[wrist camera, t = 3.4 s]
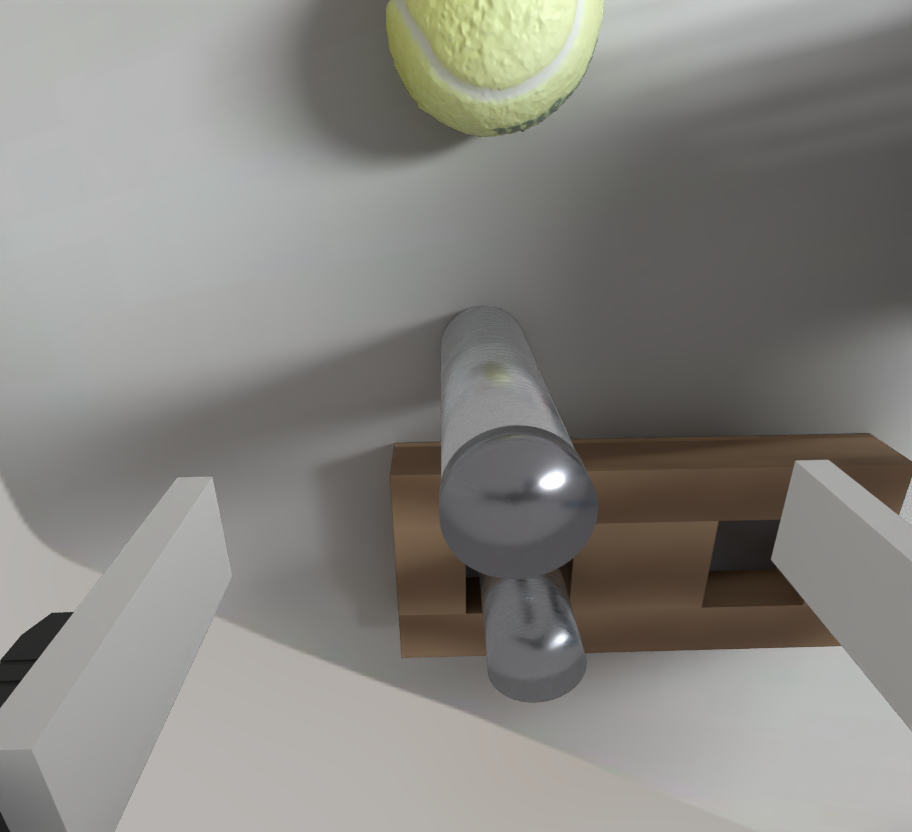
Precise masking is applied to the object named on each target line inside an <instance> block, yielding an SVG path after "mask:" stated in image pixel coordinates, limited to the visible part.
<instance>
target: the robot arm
mask: <svg viewBox="0 0 912 832" xmlns="http://www.w3.org/2000/svg"><path fill="white" fill-rule="evenodd" d="M771 560H772V561H773V563H774V564H775V565H776V566H777V568H778V569H779V570H780V571H781V572H782V574H783V575H784V576H785V577H786V579H787V580H788V581H789V582H790V583H791V585H792V586H793V587H794V588H795V590H796V591H797V592H798V593H799V594H800V596H801V597H802V598H803V599H804V601H805V602H806V603H807V604H808V605H809V607H810V608H811V609H812V610H813V612H814V613H815V614H816V615H817V616H818V618H819V619H820V620H821V621H822V623H823V624H824V625H825V626H826V627H827V629H828V630H829V631H830V632H831V634H832V635H833V636H834V637H835V638H836V640H837V641H838V642H839V643H840V644H841V646H842V647H843V648H844V649H845V651H846V652H847V653H848V654H849V655H850V657H851V658H852V659H853V660H854V662H855V663H856V664H857V665H858V666H859V668H860V669H861V670H862V671H863V673H864V674H865V675H866V676H867V677H868V679H869V680H870V681H871V682H872V684H873V685H874V686H875V687H876V688H877V690H878V691H879V692H880V693H881V695H882V696H883V697H884V698H885V699H886V701H887V702H888V703H889V704H890V706H891V707H892V708H893V709H894V710H895V712H896V713H897V714H898V715H899V717H900V718H901V719H902V720H903V721H904V723H905V724H906V725H907V726H908V728H909V729H910V730H911V731H912V526H911V525H910V524H909V523H908V522H906V521H905V520H904V519H902V518H901V517H900V516H899V515H897V514H896V513H895V512H894V511H892V510H891V509H890V508H889V507H887V506H886V505H885V504H884V503H882V502H881V501H880V500H879V499H877V498H876V497H875V496H873V495H872V494H871V493H870V492H868V491H867V490H866V489H865V488H863V487H862V486H861V485H860V484H858V483H857V482H856V481H855V480H853V479H852V478H851V477H850V476H848V475H847V474H846V473H844V472H843V471H842V470H841V469H839V468H838V467H837V466H836V465H834V464H833V463H832V462H831V461H829V460H798V461H795V464H794V468H793V472H792V476H791V480H790V484H789V488H788V492H787V496H786V500H785V504H784V508H783V512H782V516H781V521H780V525H779V529H778V533H777V537H776V541H775V545H774V549H773V553H772V557H771ZM231 579H232V572H231V567H230V562H229V557H228V552H227V547H226V542H225V537H224V532H223V527H222V522H221V517H220V512H219V507H218V502H217V497H216V492H215V488H214V483H213V478H212V477H177V479H176V480H175V481H174V482H173V484H172V485H171V486H170V488H169V489H168V490H167V492H166V493H165V494H164V495H163V497H162V498H161V499H160V501H159V502H158V503H157V505H156V506H155V507H154V508H153V510H152V511H151V512H150V514H149V515H148V516H147V518H146V519H145V520H144V522H143V523H142V524H141V525H140V527H139V528H138V529H137V531H136V532H135V533H134V535H133V536H132V537H131V538H130V540H129V541H128V542H127V544H126V545H125V546H124V548H123V549H122V550H121V552H120V553H119V554H118V555H117V557H116V558H115V559H114V561H113V562H112V563H111V565H110V566H109V567H108V568H107V570H106V571H105V572H104V574H103V575H102V576H101V578H100V579H99V580H98V582H97V583H96V584H95V585H94V587H93V588H92V589H91V591H90V592H89V593H88V595H87V596H86V597H85V598H84V600H83V601H82V602H81V604H80V605H79V606H78V608H77V609H76V610H75V611H74V612H63V613H51V614H50V615H48V616H47V617H45V618H44V619H43V620H42V621H40V622H39V623H37V624H36V625H35V626H33V627H32V628H30V629H29V630H28V631H26V632H25V633H24V634H22V635H21V636H20V637H19V639H18V640H17V641H16V642H15V643H14V645H13V646H12V647H11V648H10V649H9V651H8V652H7V653H6V654H5V656H4V657H3V658H2V659H1V660H0V832H115V829H116V827H117V825H118V823H119V821H120V819H121V816H122V814H123V812H124V810H125V808H126V806H127V803H128V801H129V799H130V797H131V795H132V793H133V791H134V788H135V786H136V784H137V782H138V780H139V777H140V775H141V773H142V771H143V769H144V767H145V765H146V762H147V760H148V758H149V756H150V754H151V752H152V749H153V747H154V745H155V743H156V741H157V738H158V736H159V734H160V732H161V730H162V728H163V726H164V723H165V721H166V719H167V717H168V715H169V713H170V711H171V708H172V706H173V704H174V701H175V700H176V697H177V695H178V693H179V691H180V689H181V687H182V685H183V682H184V680H185V678H186V676H187V674H188V672H189V669H190V667H191V665H192V663H193V660H194V658H195V657H196V654H197V652H198V650H199V648H200V646H201V643H202V641H203V639H204V637H205V635H206V633H207V631H208V628H209V626H210V624H211V622H212V620H213V618H214V615H215V613H216V611H217V609H218V607H219V605H220V603H221V600H222V598H223V596H224V594H225V592H226V590H227V587H228V585H229V583H230V581H231Z"/></svg>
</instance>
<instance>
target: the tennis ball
mask: <svg viewBox="0 0 912 832" xmlns="http://www.w3.org/2000/svg"><path fill="white" fill-rule="evenodd" d="M603 8H604V0H390V1H389V2H388V4H387V6H386V11H385V16H386V25H385V26H386V33H387V37H388V44H389V46H388V48H389V50H390V52H391V56H392V57H393V59H394V67H395V68H396V71H397V72H398V74H399V76H400V78H401V79H402V82H403V85H404V86H405V88H407V90H408V93H409V94H410V95H411V98H412V99H413V100H415V101H416V102H417V103H418V107H419V108H420V109H422V110H424V111H425V112H426V113H429V114H430V115H431V116H432V117H434V118H435V119H436V120H438V121H440V122H441V123H443V124H444V125H446V126H449V127H451V128H454V129H455V130H457V131H461V132H463V133H466V134H467V135H471V134H474V135H477V136H478V137H490V136H491V137H492V136H498V135H504V134H512V133H516V132H518V131H522V132H524V131H525V130H526V129H529V128H530V127H532V126H535V125H538V124H539V123H540V122H542V121H543V120H544V119H545V118H546V117H547V116H549V115H550V114H552V113H553V112H555V111H557V109H558V108H559V107H560V106H561V105H562V104H563V103H564V102H565V100H566V99H567V98H568V97H569V96H570V95H571V94H572V93H573V91H574V90H575V89H576V88H577V87H578V85H579V84H580V82H581V79H582V78H583V76H584V75H585V73H586V72H587V68H588V66H589V63H590V61H591V59H592V57H593V53H594V50H595V46H596V43H597V41H598V35H599V31H600V27H601V22H602V18H603Z"/></svg>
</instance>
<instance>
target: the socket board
mask: <svg viewBox="0 0 912 832" xmlns="http://www.w3.org/2000/svg"><path fill="white" fill-rule="evenodd" d="M570 440H571V442H572V444H573V446H574V449H575V451H576V452H577V453H578V455H579V456H580V458H581V460H582V462H583V464H584V466H585V468H586V470H587V473H588V475H589V477H590V479H591V481H592V484H593V486H594V488H595V492H596V495H597V502H598V515H597V520H596V524H595V527H594V530H593V532H592V534H591V537H590V539H589V540H588V542H587V543H586V545H585V546H584V547H583V548H582V550H581V551H580V552H579V553H578V554H577V555H576V556H575V557H574V558H572V559H571V560H570V561H569V562H567V563H566V564H564V565H563V566H561V567H560V568H561V572H562V575H563V579H564V582H565V586H566V589H567V593H568V596H569V600H570V603H571V607H572V610H573V614H574V617H575V621H576V624H577V628H578V631H579V635H580V638H581V642H582V645H583V649H584V652H585V653H599V652H636V651H674V650H711V649H749V648H787V647H824V646H841V644H840V643H839V642H838V641H837V640H836V638H835V637H834V636H833V635H832V634H831V632H830V631H829V630H828V629H827V627H826V626H825V625H824V624H823V623H822V621H821V620H820V619H819V618H818V616H817V615H816V614H815V613H814V612H813V610H812V609H811V608H810V607H809V605H808V604H807V603H806V602H805V601H804V599H803V598H802V597H801V596H800V594H799V593H798V592H797V591H796V590H795V588H794V587H793V586H792V585H791V583H790V582H789V581H788V580H787V579H786V577H785V576H784V575H783V574H782V572H781V571H780V570H779V569H778V568H777V566H776V565H775V564H774V563H773V561H772V560H771V557H772V553H773V549H774V545H775V541H776V537H777V533H778V529H779V525H780V521H781V516H782V512H783V508H784V504H785V500H786V496H787V492H788V488H789V484H790V480H791V476H792V472H793V468H794V464H795V461H798V460H829V461H831V462H832V463H833V464H834V465H836V466H837V467H838V468H839V469H841V470H842V471H843V472H844V473H846V474H847V475H848V476H850V477H851V478H852V479H853V480H855V481H856V482H857V483H858V484H860V485H861V486H862V487H863V488H865V489H866V490H867V491H868V492H870V493H871V494H872V495H873V496H875V497H876V498H877V499H879V500H880V501H881V502H882V503H884V504H885V505H886V506H887V507H889V508H890V509H891V510H892V511H894V512H895V513H896V514H897V515H899V513H900V510H901V507H902V504H903V501H904V498H905V495H906V492H907V490H908V487H909V484H910V481H911V478H912V461H910V460H909V459H907V458H906V457H904V456H903V455H901V454H900V453H898V452H897V451H895V450H894V449H892V448H891V447H889V446H888V445H886V444H885V443H883V442H882V441H880V440H879V439H877V438H876V437H874V436H873V435H871V434H870V433H863V434H814V435H765V436H716V437H667V438H619V439H570ZM440 482H441V442H423V443H395V446H394V452H393V459H392V466H391V472H390V484H391V500H392V516H393V532H394V547H395V563H396V579H397V595H398V611H399V626H400V642H401V658H411V657H448V656H486V655H487V654H486V643H485V632H484V621H483V610H482V600H481V589H480V578H479V572H478V571H476V570H474V569H472V568H470V567H469V566H467V565H466V564H464V563H463V562H462V561H461V560H460V559H458V558H457V557H456V556H455V554H454V553H453V552H452V551H451V550H450V548H449V547H448V545H447V543H446V541H445V539H444V537H443V535H442V531H441V527H440V520H439V490H440Z"/></svg>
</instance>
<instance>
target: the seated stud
mask: <svg viewBox="0 0 912 832" xmlns="http://www.w3.org/2000/svg"><path fill="white" fill-rule="evenodd" d="M479 578H480V589H481V600H482V610H483V621H484V632H485V643H486V654H487V665H488V674H489V678H490V680H491V682H492V684H493V685H494V687H495V688H496V689H497V690H498V691H500V692H501V693H502V694H504V695H505V696H507V697H509V698H512V699H514V700H518V701H522V702H544V701H549V700H553V699H556V698H558V697H561V696H563V695H565V694H566V693H568V692H569V691H571V690H572V689H573V688H574V687H575V686H576V685H577V684H578V683H579V682H580V680H581V679H582V677H583V675H584V673H585V670H586V656H585V652H584V649H583V645H582V642H581V638H580V635H579V631H578V628H577V624H576V621H575V617H574V614H573V610H572V607H571V603H570V600H569V596H568V593H567V589H566V586H565V582H564V579H563V575H562V572H561V568H560V567H559V568H557V569H556V570H553V571H551V572H549V573H546V574H543V575H540V576H536V577H531V578H525V579H503V578H496V577H492V576H489V575H486V574H483V573H480V572H479Z"/></svg>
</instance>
